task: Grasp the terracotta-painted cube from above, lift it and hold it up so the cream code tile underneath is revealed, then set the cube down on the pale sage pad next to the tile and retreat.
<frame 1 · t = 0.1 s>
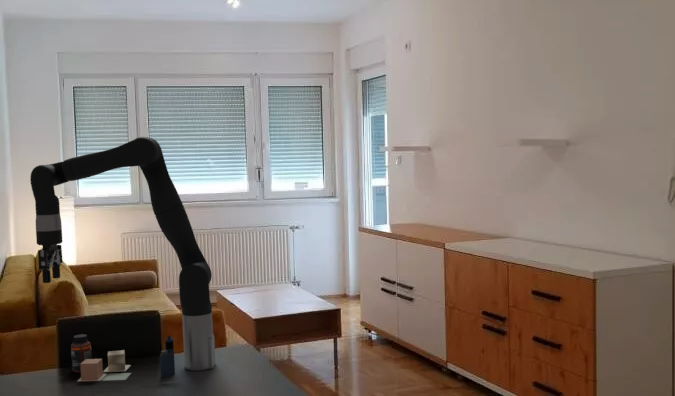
hand: (51, 280, 239), 29 cm above the table, tool pointing down, fingers open, 8 cm apart
maple block: (117, 368, 241), resting on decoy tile
sage pad: (117, 377, 232), on the table
terracotta block: (92, 377, 232), resting on code tile
code tile: (92, 378, 232), on the table
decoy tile: (117, 369, 241), on the table
vaping device: (168, 376, 232), on the table
supplement bottle: (82, 371, 241), on the table
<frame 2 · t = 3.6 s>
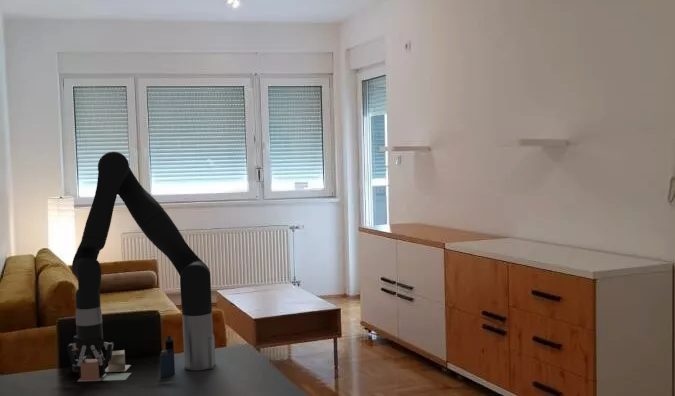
hand: (92, 376, 232), 1 cm above the table, tool pointing down, fingers closed on terracotta block, 5 cm apart
terracotta block: (92, 377, 232), resting on code tile, touching gripper
everything else where it was.
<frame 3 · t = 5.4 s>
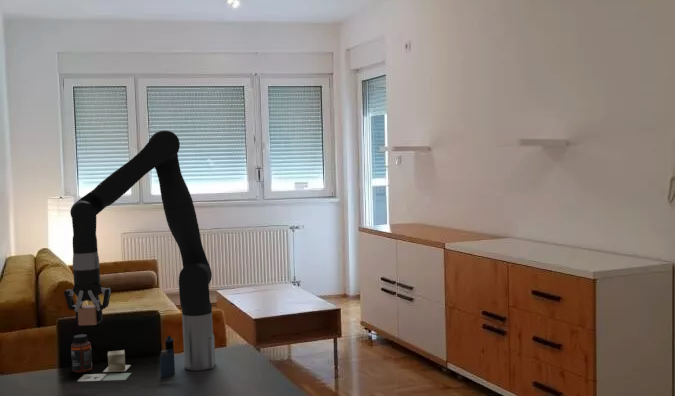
hand: (89, 322, 231), 17 cm above the table, tool pointing down, fingers closed on terracotta block, 5 cm apart
terracotta block: (89, 323, 231), point 17 cm above the table, touching gripper
everything else where it was.
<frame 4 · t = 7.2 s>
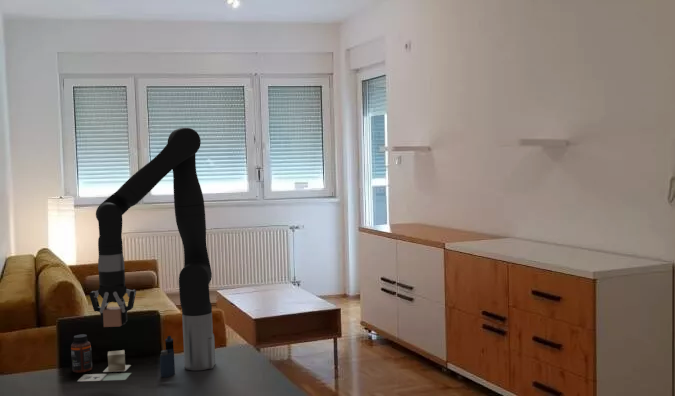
hand: (114, 324, 231), 17 cm above the table, tool pointing down, fingers closed on terracotta block, 5 cm apart
terracotta block: (114, 324, 231), point 16 cm above the table, touching gripper
everything else where it was.
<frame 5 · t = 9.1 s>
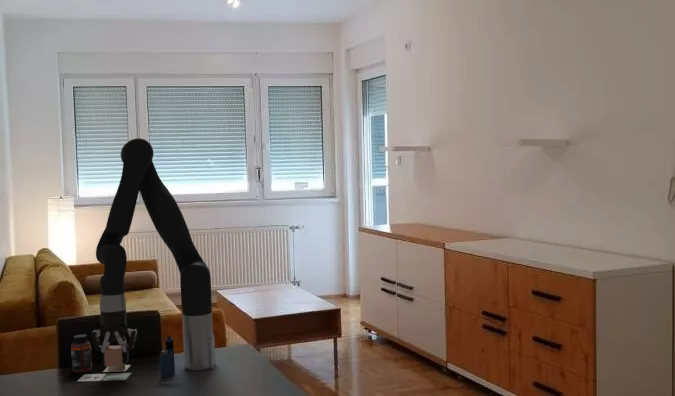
hand: (115, 363, 232), 4 cm above the table, tool pointing down, fingers closed on terracotta block, 5 cm apart
terracotta block: (115, 363, 232), point 4 cm above the table, touching gripper
everything else where it was.
when the fingers open (2 cm above the table, at t = 10.6 s): terracotta block drops 1 cm, resting on sage pad.
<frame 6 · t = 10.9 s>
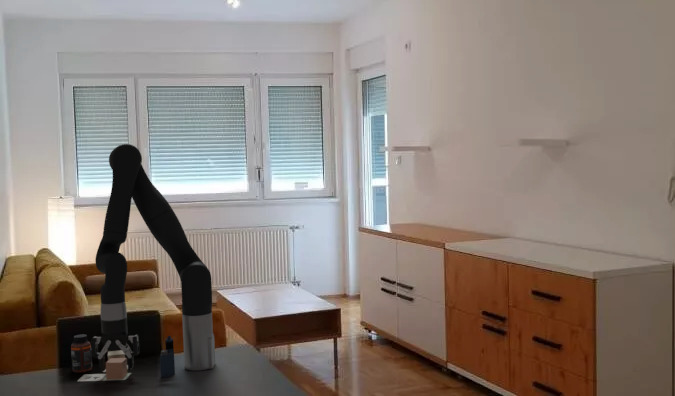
hand: (116, 369, 232), 2 cm above the table, tool pointing down, fingers open, 7 cm apart
terracotta block: (117, 376, 232), resting on sage pad
everything else where it was.
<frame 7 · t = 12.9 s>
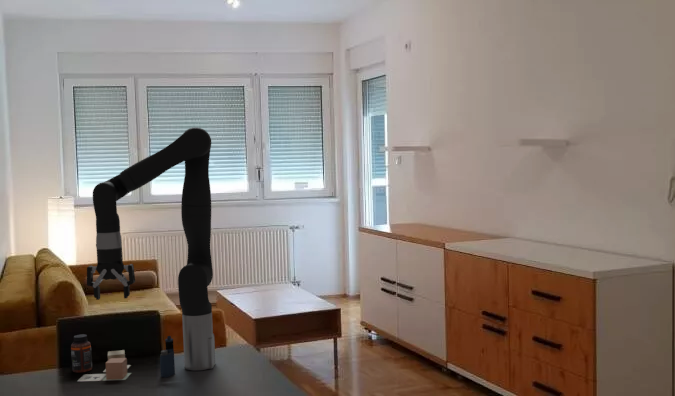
hand: (112, 298, 236), 23 cm above the table, tool pointing down, fingers open, 8 cm apart
nothing on the table moved.
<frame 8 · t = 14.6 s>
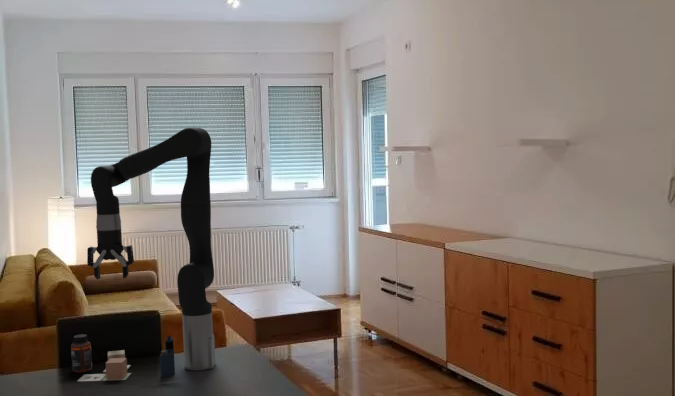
hand: (111, 278, 245), 28 cm above the table, tool pointing down, fingers open, 8 cm apart
nothing on the table moved.
at the end: terracotta block inside the target area (0.0 cm from its centre), resting on sage pad; terracotta block tilted 0°; the gripper is holding nothing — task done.
